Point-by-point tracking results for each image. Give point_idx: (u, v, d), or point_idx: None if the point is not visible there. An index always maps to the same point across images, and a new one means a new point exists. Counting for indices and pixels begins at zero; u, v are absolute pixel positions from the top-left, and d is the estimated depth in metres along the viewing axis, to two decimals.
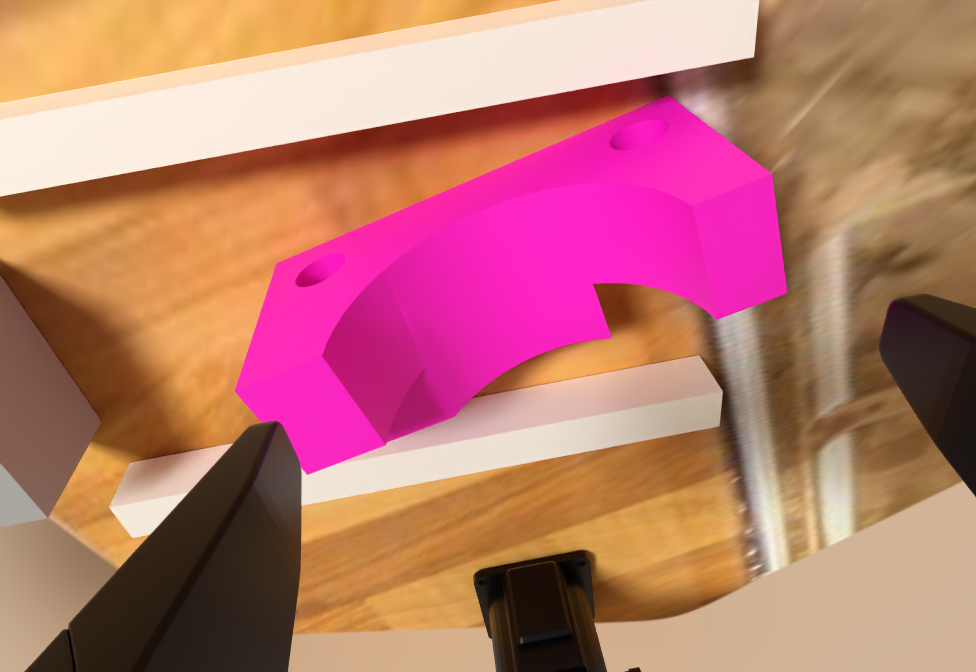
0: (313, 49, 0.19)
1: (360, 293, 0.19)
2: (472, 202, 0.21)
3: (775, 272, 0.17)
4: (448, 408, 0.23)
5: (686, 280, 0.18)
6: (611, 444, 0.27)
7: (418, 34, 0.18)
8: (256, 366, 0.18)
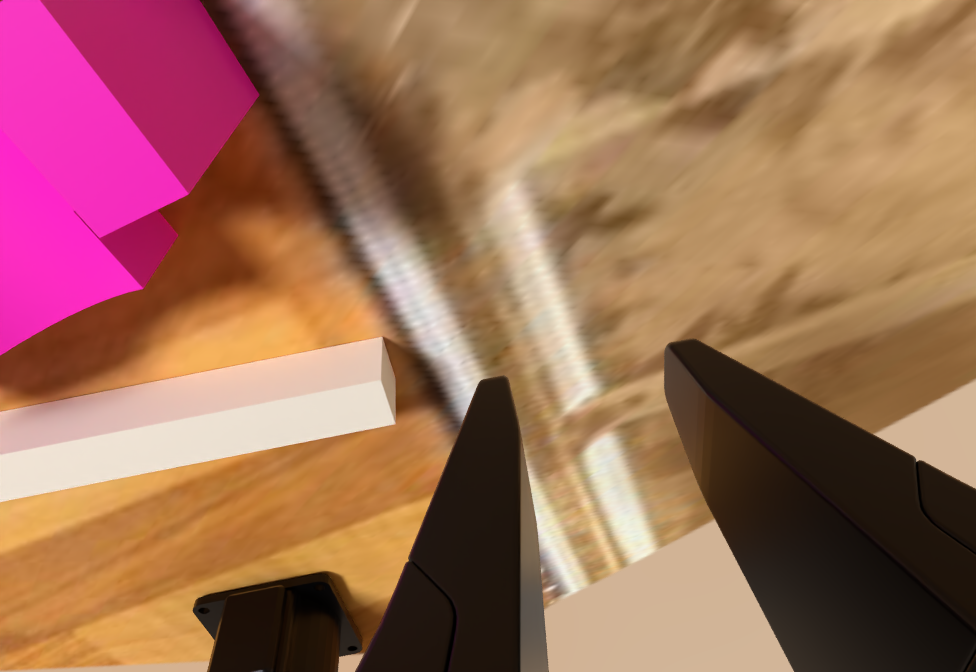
0: None
1: None
2: None
3: (147, 160, 0.11)
4: None
5: None
6: (259, 447, 0.22)
7: None
8: None
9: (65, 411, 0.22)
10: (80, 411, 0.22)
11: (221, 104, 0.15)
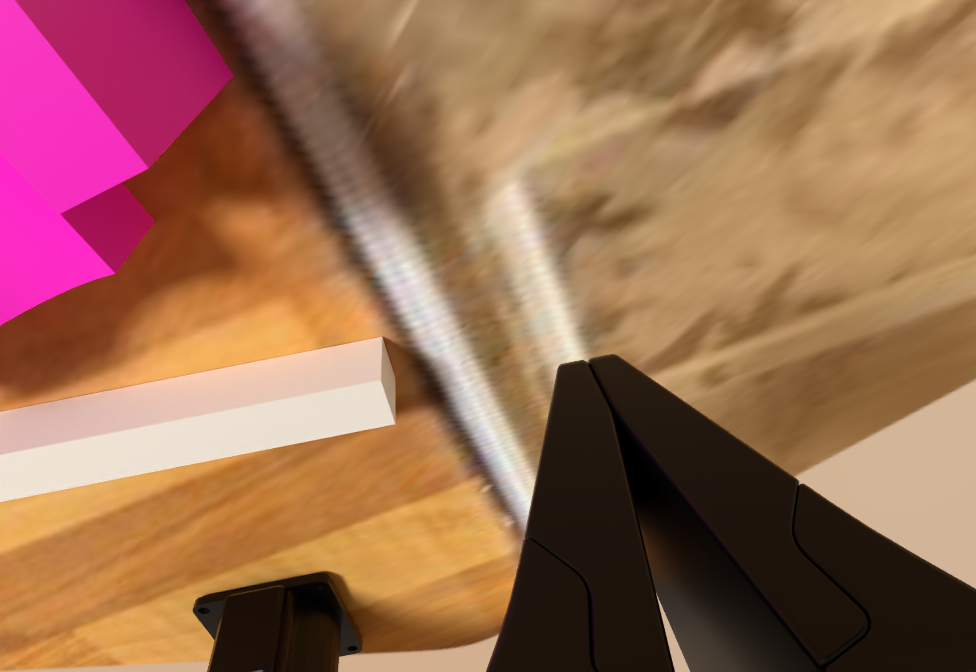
0: None
1: None
2: None
3: (103, 132, 0.11)
4: None
5: None
6: (259, 447, 0.22)
7: None
8: None
9: (65, 411, 0.22)
10: (80, 411, 0.22)
11: (190, 81, 0.15)
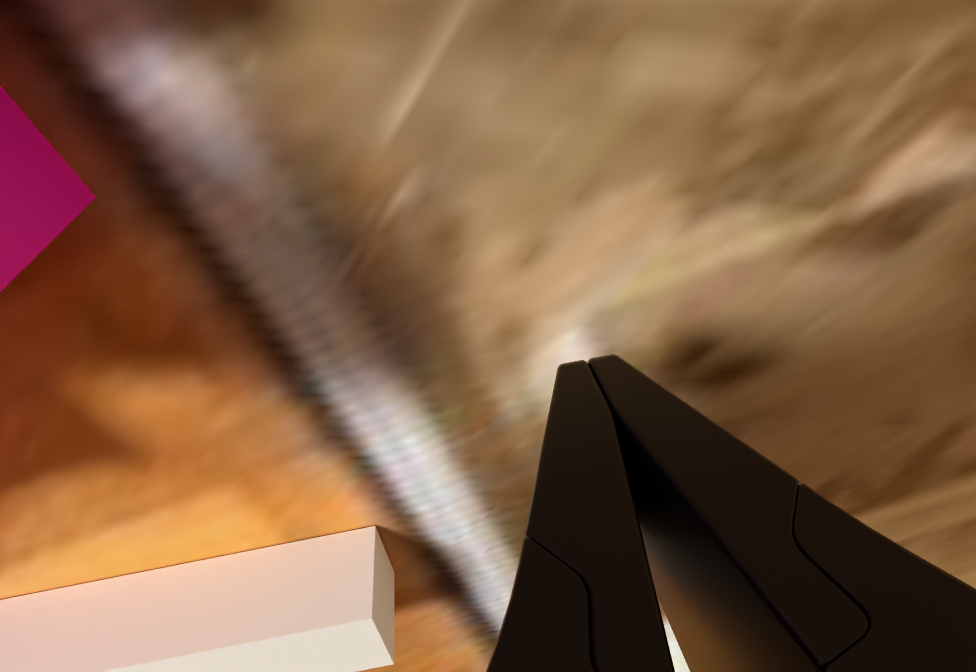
0: None
1: None
2: None
3: None
4: None
5: None
6: None
7: None
8: None
9: None
10: None
11: None
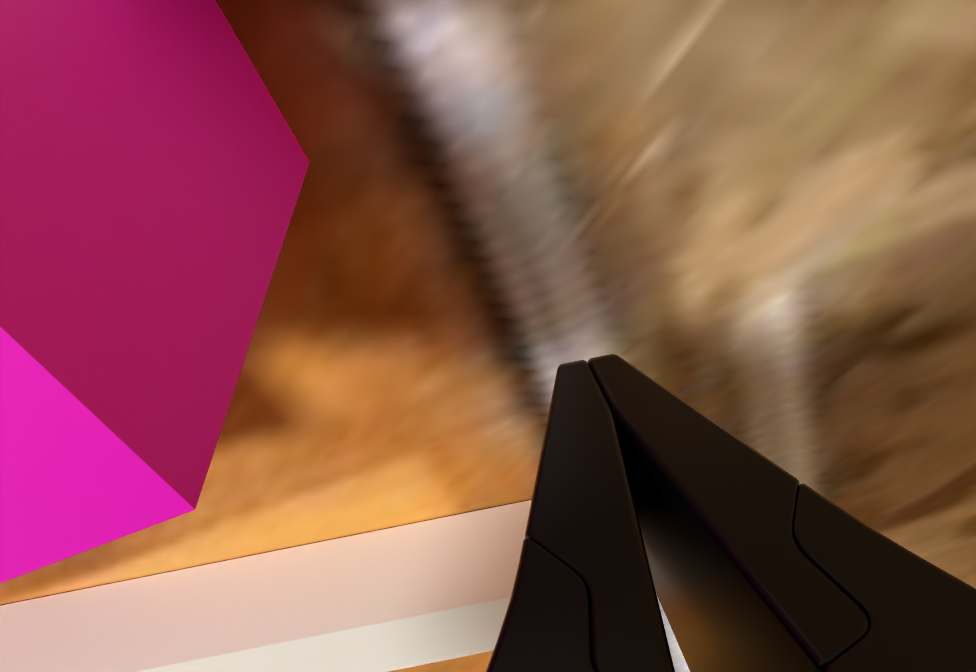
0: None
1: None
2: None
3: (82, 446, 0.04)
4: None
5: None
6: (382, 669, 0.15)
7: None
8: None
9: (96, 613, 0.15)
10: (118, 614, 0.15)
11: (256, 204, 0.08)
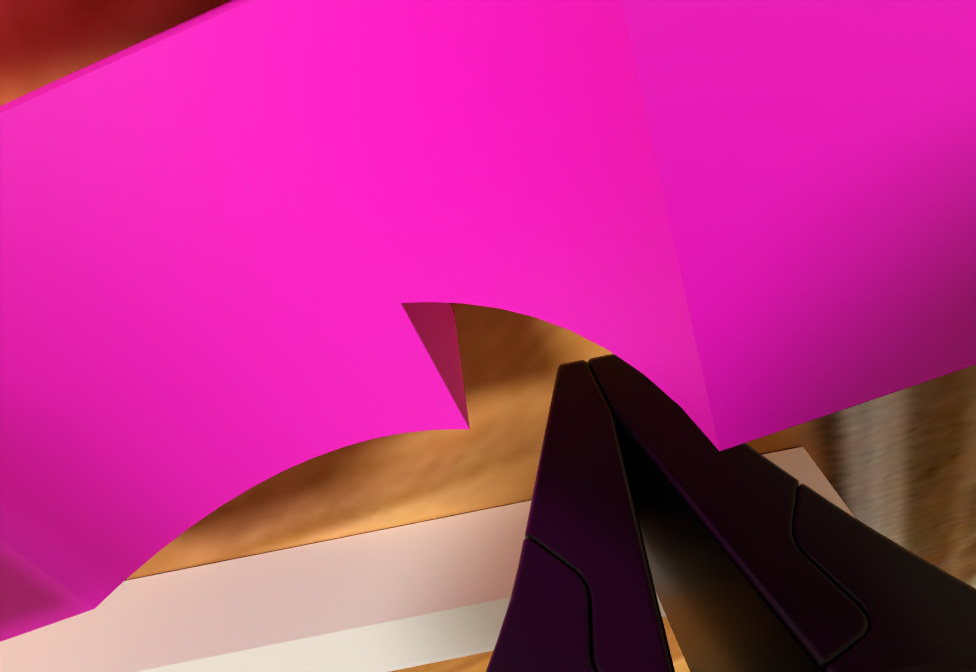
0: None
1: None
2: (68, 79, 0.08)
3: (964, 280, 0.04)
4: (73, 592, 0.09)
5: (617, 303, 0.05)
6: None
7: None
8: None
9: (361, 560, 0.15)
10: (385, 561, 0.15)
11: None
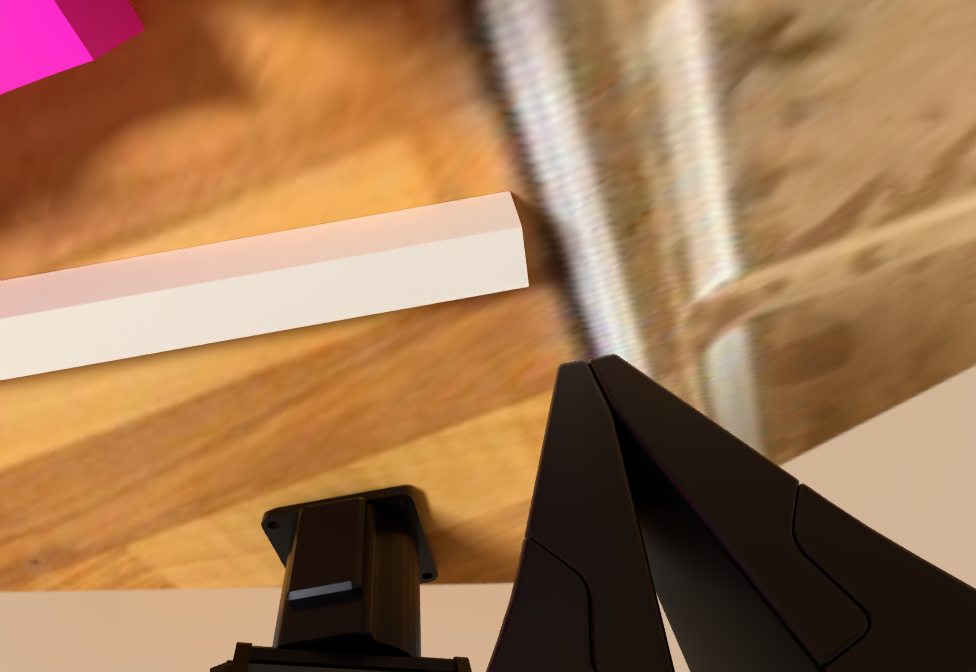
0: None
1: None
2: None
3: None
4: None
5: None
6: (372, 310, 0.19)
7: None
8: None
9: (145, 266, 0.19)
10: (163, 265, 0.19)
11: None
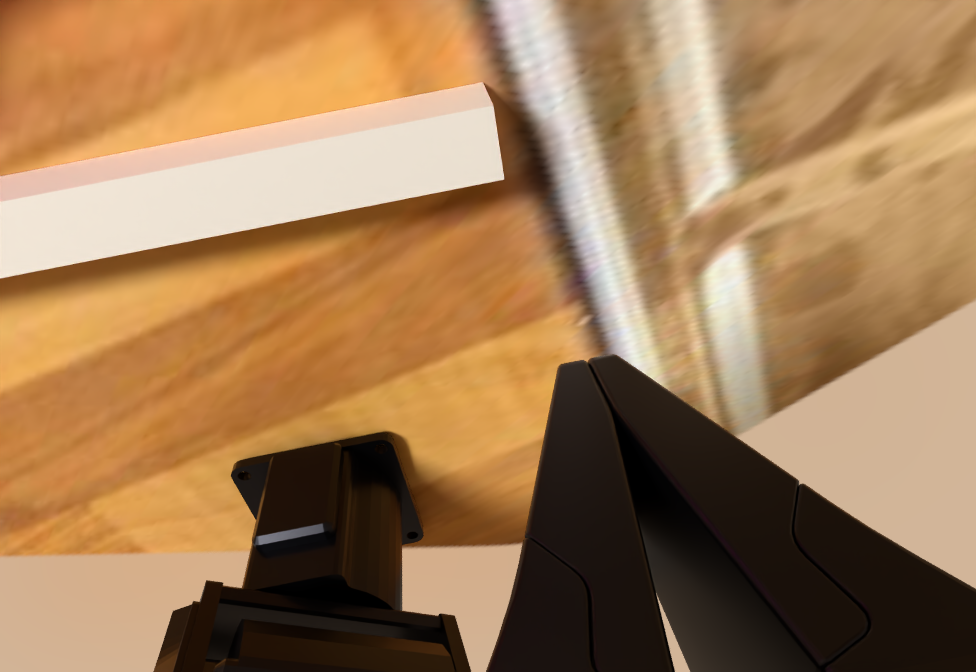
0: None
1: None
2: None
3: None
4: None
5: None
6: (333, 207, 0.17)
7: None
8: None
9: (87, 167, 0.18)
10: (106, 164, 0.17)
11: None
